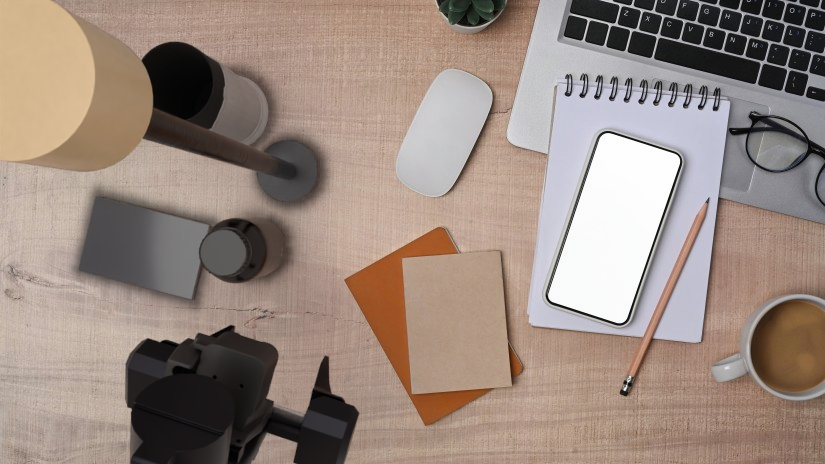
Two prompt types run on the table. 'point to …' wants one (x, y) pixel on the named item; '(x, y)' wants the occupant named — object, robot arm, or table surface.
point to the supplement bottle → (242, 249)
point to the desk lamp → (107, 105)
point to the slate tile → (143, 247)
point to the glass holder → (205, 92)
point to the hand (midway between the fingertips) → (279, 343)
